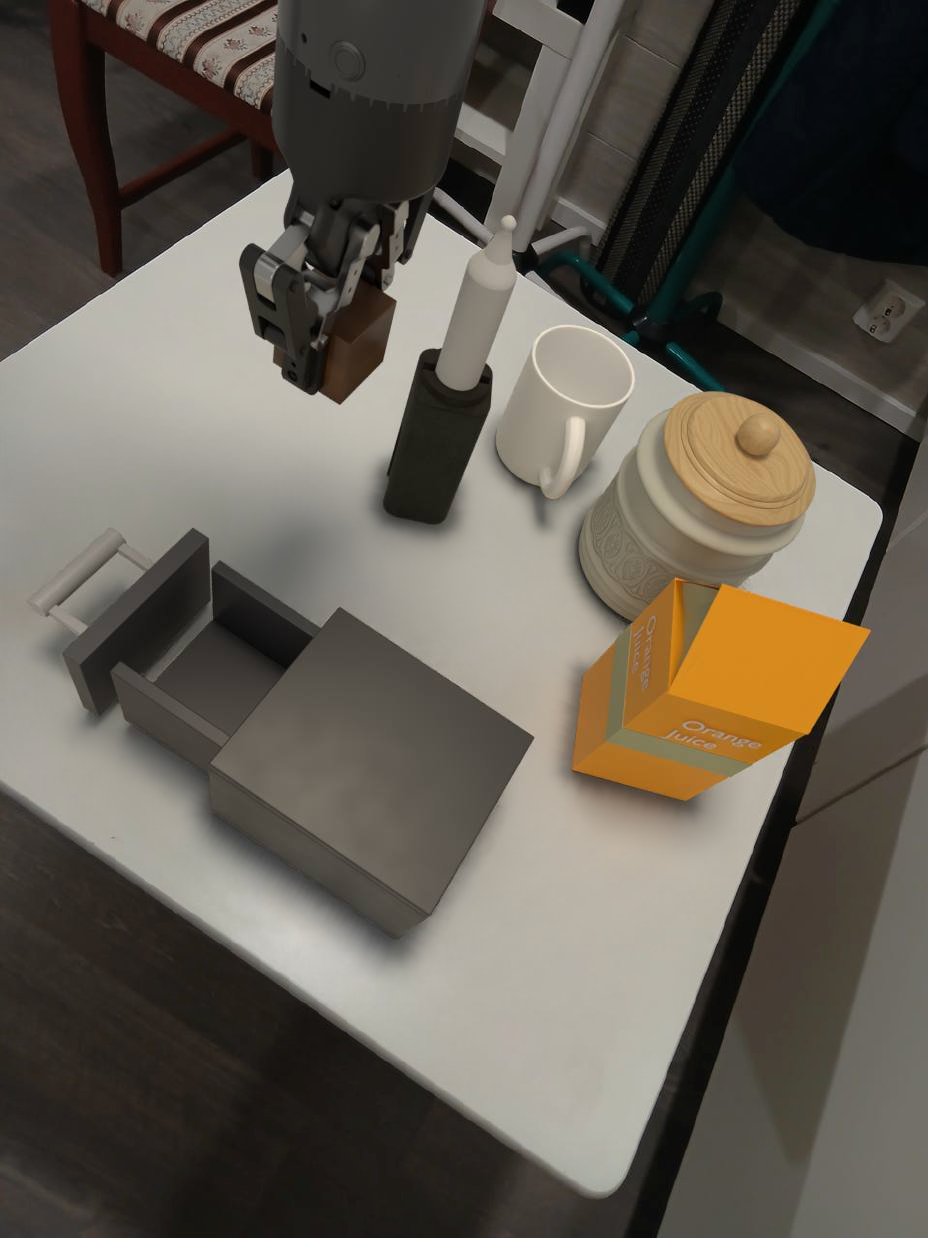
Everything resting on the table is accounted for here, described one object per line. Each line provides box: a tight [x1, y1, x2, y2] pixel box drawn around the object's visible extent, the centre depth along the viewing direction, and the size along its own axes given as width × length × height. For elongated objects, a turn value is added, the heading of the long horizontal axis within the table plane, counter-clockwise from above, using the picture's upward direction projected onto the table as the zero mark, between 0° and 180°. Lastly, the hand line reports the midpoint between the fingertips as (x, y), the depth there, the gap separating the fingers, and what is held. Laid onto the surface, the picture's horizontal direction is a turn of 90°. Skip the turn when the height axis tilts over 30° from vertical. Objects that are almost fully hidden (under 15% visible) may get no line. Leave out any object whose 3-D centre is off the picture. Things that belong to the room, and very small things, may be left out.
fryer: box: [208, 606, 535, 940], centre depth 48 cm, size 14×12×10 cm
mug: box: [495, 324, 636, 500], centre depth 64 cm, size 12×8×10 cm
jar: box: [578, 390, 817, 623], centre depth 60 cm, size 13×13×18 cm
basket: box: [26, 527, 322, 778], centre depth 49 cm, size 17×10×8 cm, turn 59°
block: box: [272, 267, 398, 406], centre depth 44 cm, size 4×4×4 cm
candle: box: [382, 214, 518, 525], centre depth 54 cm, size 5×5×25 cm
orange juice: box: [571, 578, 872, 802], centre depth 51 cm, size 8×9×20 cm
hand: (328, 357), depth 46 cm, fingers closed on block, 4 cm apart
